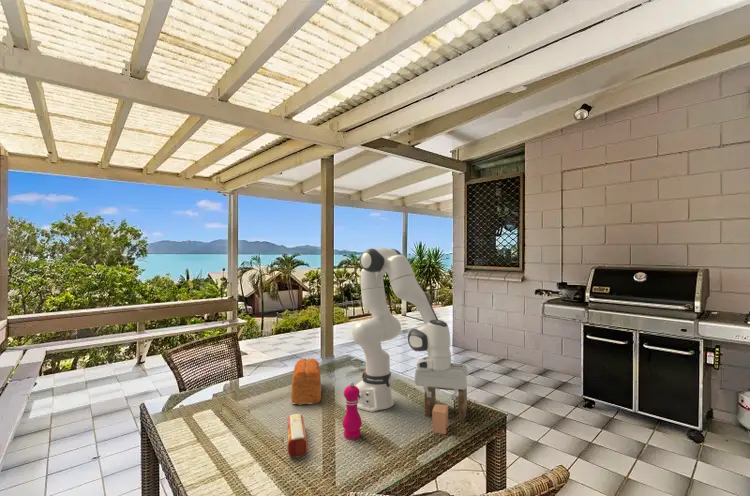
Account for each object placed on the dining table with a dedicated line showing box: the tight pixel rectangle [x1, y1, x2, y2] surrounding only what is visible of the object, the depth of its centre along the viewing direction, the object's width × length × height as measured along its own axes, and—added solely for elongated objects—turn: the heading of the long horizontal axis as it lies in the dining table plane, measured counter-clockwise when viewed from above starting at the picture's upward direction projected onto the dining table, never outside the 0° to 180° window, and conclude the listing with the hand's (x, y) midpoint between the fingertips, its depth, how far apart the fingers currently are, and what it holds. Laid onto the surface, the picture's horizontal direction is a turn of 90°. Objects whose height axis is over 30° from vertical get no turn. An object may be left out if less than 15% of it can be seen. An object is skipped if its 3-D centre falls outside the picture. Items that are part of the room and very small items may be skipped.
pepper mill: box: [342, 381, 363, 440], centre depth 132 cm, size 7×7×20 cm
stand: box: [424, 387, 468, 422], centre depth 151 cm, size 16×14×14 cm
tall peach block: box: [431, 403, 449, 435], centre depth 135 cm, size 5×7×8 cm
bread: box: [290, 358, 322, 405], centre depth 173 cm, size 14×27×15 cm, turn 10°
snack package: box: [286, 413, 308, 458], centre depth 128 cm, size 21×7×7 cm, turn 15°
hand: (441, 398), depth 135 cm, fingers open, 8 cm apart
